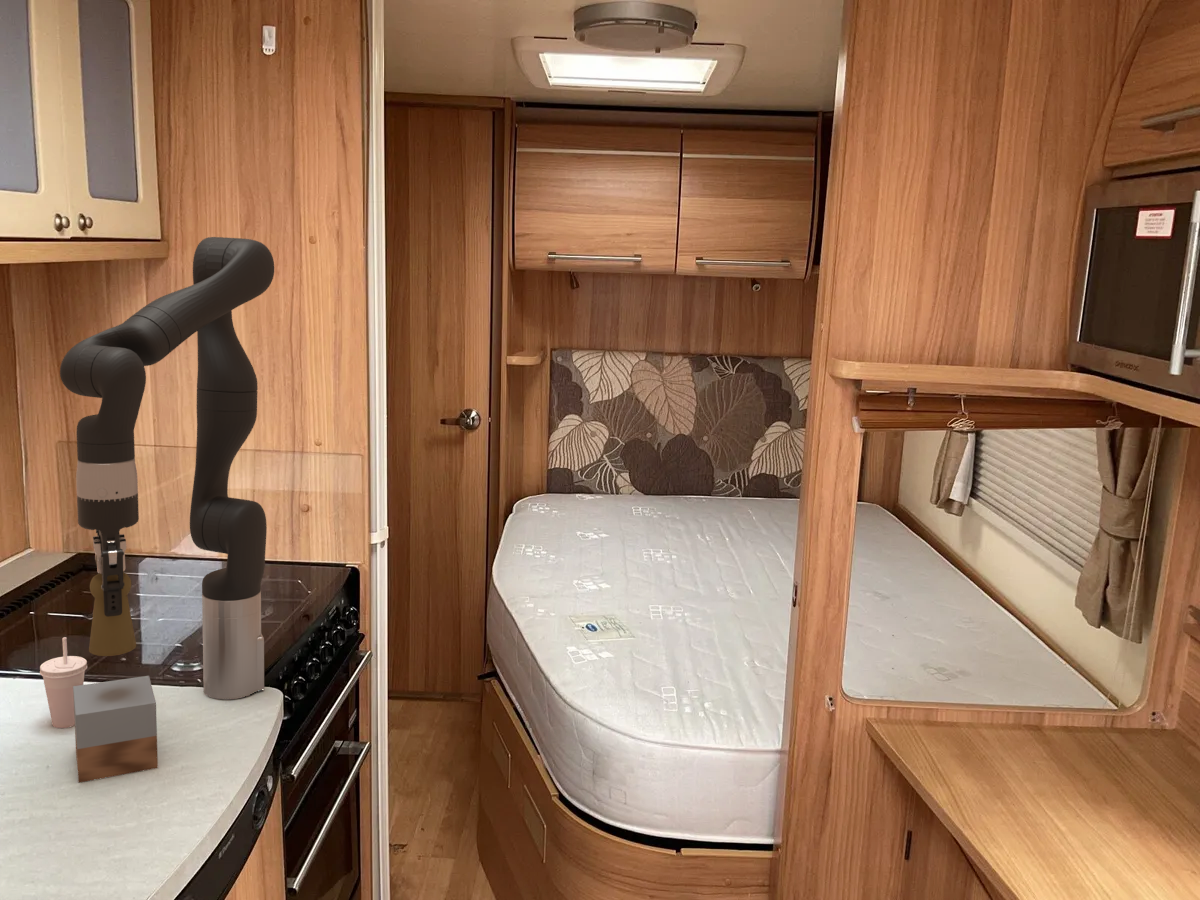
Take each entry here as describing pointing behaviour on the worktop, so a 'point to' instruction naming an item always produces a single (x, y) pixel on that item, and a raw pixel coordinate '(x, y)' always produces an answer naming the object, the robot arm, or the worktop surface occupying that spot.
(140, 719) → the slate top block
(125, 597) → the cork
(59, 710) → the smoothie
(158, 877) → the worktop surface
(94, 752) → the walnut base block
